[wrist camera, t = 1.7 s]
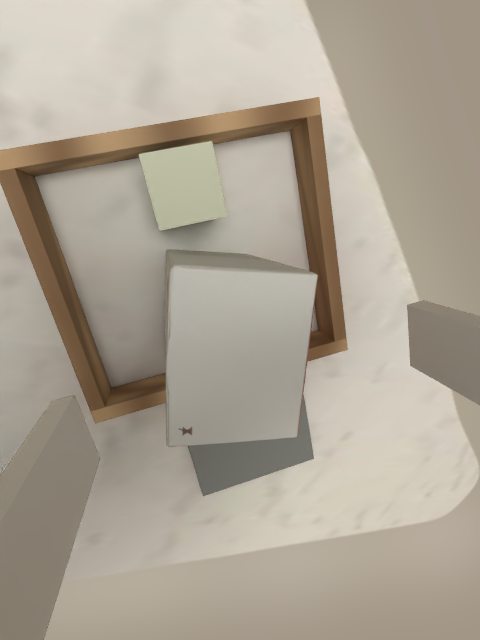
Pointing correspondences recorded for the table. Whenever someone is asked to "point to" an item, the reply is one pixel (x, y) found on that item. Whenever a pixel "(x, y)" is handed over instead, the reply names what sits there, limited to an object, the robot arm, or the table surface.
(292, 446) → the mat
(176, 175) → the sage block
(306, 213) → the bin
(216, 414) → the small box
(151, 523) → the table surface
